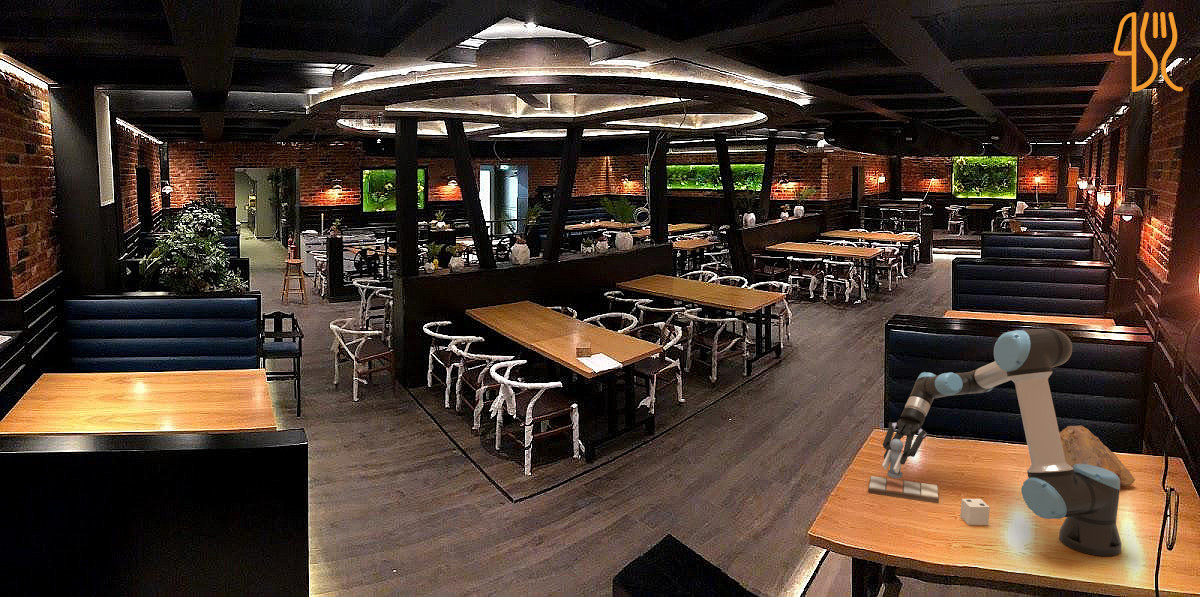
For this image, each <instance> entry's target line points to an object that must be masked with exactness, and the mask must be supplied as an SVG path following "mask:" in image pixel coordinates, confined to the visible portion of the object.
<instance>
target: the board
mask: <svg viewBox="0 0 1200 597" xmlns="http://www.w3.org/2000/svg"><path fill="white" fill-rule="evenodd" d="M869 478H870V479H869V482H868V483H869V484H868V492H869V493H868V494H873V493H874V494H875V495H880V496H881V495H882V496H888V497H893V498H895V497H896V498H901V499H902V498H903V499H908V500H915V501H923V502H930V503H937V504H939V502H940V501H939V499H940V498H939V486H938V484H932V483H925V482H919V481H910V480H903V479H898V478H890V477H881V476H876V475H875V476H874V475H870V477H869Z"/></svg>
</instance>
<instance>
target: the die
mask: <svg viewBox="0 0 1200 597" xmlns="http://www.w3.org/2000/svg"><path fill="white" fill-rule="evenodd" d="M960 500H961V502H960V503H961V505H960V515H959V516H960V518H961V519H962V520H963V521H964V522H965V523H966V524H967V525H968V526H989V523H990V512H991V511H990V506H989V505H988V504H987V503H986V502H985V501H984V500H983V499H982V498H961V499H960Z"/></svg>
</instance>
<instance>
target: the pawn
mask: <svg viewBox="0 0 1200 597" xmlns="http://www.w3.org/2000/svg"><path fill="white" fill-rule="evenodd" d="M892 439H893V438H892ZM892 439H891V440H892ZM890 447H891V458H890V463H889V469H887V477H888V478H890V479H902V478H903V472H902V471H901V470H902V469H901V467H902V466H901V467H900V469H899V472H898V473H896V472H895V471H894V469H893V468H894V466H895V464H896V462H897V459H898V457H899V455H900V453H903V449H904V443H903V441H902V440H901V439H900V440H899V439H893V440H892V441H891V442H890Z"/></svg>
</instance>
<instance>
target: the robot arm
mask: <svg viewBox="0 0 1200 597" xmlns="http://www.w3.org/2000/svg"><path fill="white" fill-rule="evenodd" d="M1072 353H1073V345H1072V341H1071V339H1070V337H1069V336H1067V335H1066V334H1065V333H1064V332H1062V331H1061V330H1059V329H1055V328H1049V327H1048V328H1047V327H1046V328H1031V329H1030V328H1029V329H1017V330H1011V331H1007V332H1003V333H1002V334H1001V335H1000V336H999V337H998V338H997V340H996V342H995V343H994V347H993V358H994V361H992V362H990V363H988V364H986V365H983V366H981V367H978V368H976V369H975V370H971V371H968V372H966V371H965V372H955V373H954V372H944V373H941V374H938V375H936V374H934V373H933V372H930V371H929V372H926V371H923V372H921V373H920V374H919V375H918V377H917V378H916V380H915V383H914V386H913V388H912V391H911V393H910V394H909V397H908V398H907V401H906V403H905V405H904V408H903V410H902V412H901V414H900V416H899V417H900V418H899V419H898V420H897V422H892V421H889V422H888V428H887V432H886V433H885V436H884V438H883V443H882V447H883V448H884V450H885V453H884V455H883V459H884V460H883V462H882V465H881V466H882V468H883V469H884V470H886V471H888V467H889V466H890V458H891V447H890V442H891V441H892V440H893V439H899V440H901V439H903V438H904V436H905V437H906V439H905V443H904V446H903V450H902V452H901V453H900V455H899V457H898V459H897V462H896V464H895V466H894V468H893V469H894V471H895V472H896V473H898V472H899V469H900V467H902V465H905V464H906V462H907V460H908V458H909V457H912V458H914V457H915V456H916V454H917V452H918V450H919V448H920V447H921V445H922V443H923V441H924V439H925V438H927V437H928V432H926V430H925V429H923V428H922V426H923V424H924V422H925V419H926V417H927V415H928V413H929V411H930V408H931V406H932V403H933V401H934V399H935V400H936V399H939V398H945V397H951V396H959V395H968V394H969V395H971V394H984V393H989V392H991V391H992V390H993V389H994V388H995V387H998V386H999V385H1001V384H1004V383H1007V382H1009V381H1012V382H1013V383H1014V386H1015V391H1016V396H1017V397H1016V398H1017V400H1018V406H1019V409H1020V415H1021V419H1022V424H1023V430H1024V434H1025V440H1026V444H1027V449H1028V454H1029V458H1030V463H1031V464H1030V466H1029V467H1028V469H1026V473H1027V479H1025V480H1024V482H1023V483H1022V484H1023V485H1021V495H1022V498H1023V501H1024V503H1025V504H1026V506H1027V507H1028V509H1029V510H1030V511H1032V513H1033V514H1035V515H1036V516H1038V517H1040V518H1041V519H1045V520H1050V519H1052V520H1053V519H1057V520H1061V519H1063V518H1065V519H1064V522H1063V523H1062V525H1061V527H1060V528H1059V535H1058V536H1059V537H1058V539H1059V541H1061V542H1060V543H1062V544H1064V545H1065V546H1067V547H1069V548H1070V549H1071V550H1075V551H1077V552H1080V553H1083V554H1088V555H1092V556H1097V557H1098V556H1099V557H1113V556H1118V555H1119V554H1120V553H1121V552H1122V541H1121V536H1120V533H1119V529H1118V526H1117V519H1118V518H1117V517H1118V509H1119V508H1118V507H1119V501H1120V491H1121V485H1120V479H1119V477H1118V476H1117V475H1116V474H1115V473H1113V472H1111V471H1109V470H1106V469H1104V468H1100V467H1097V466H1092V465H1087V464H1075V465H1073V467H1071V466H1070V465H1068V464H1067V463H1066V461H1065V457H1064V452H1063V447H1062V443H1061V438H1060V434H1059V433H1060V429H1059V425H1058V421H1057V415H1056V410H1055V406H1054V402H1053V398H1052V393H1051V389H1050V388H1051V387H1050V384H1049V378H1050V376H1052V374H1053V369H1052V368H1055V367H1058V366H1061V365H1063V364H1065V363H1066V362H1067V361H1068V360H1069V359H1070V358H1071V356H1072ZM896 428H897V430H896ZM895 430H896V432H895ZM894 433H895V435H894ZM917 434H918V435H917ZM915 435H917V436H916V437H915ZM914 437H915V439H914Z"/></svg>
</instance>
